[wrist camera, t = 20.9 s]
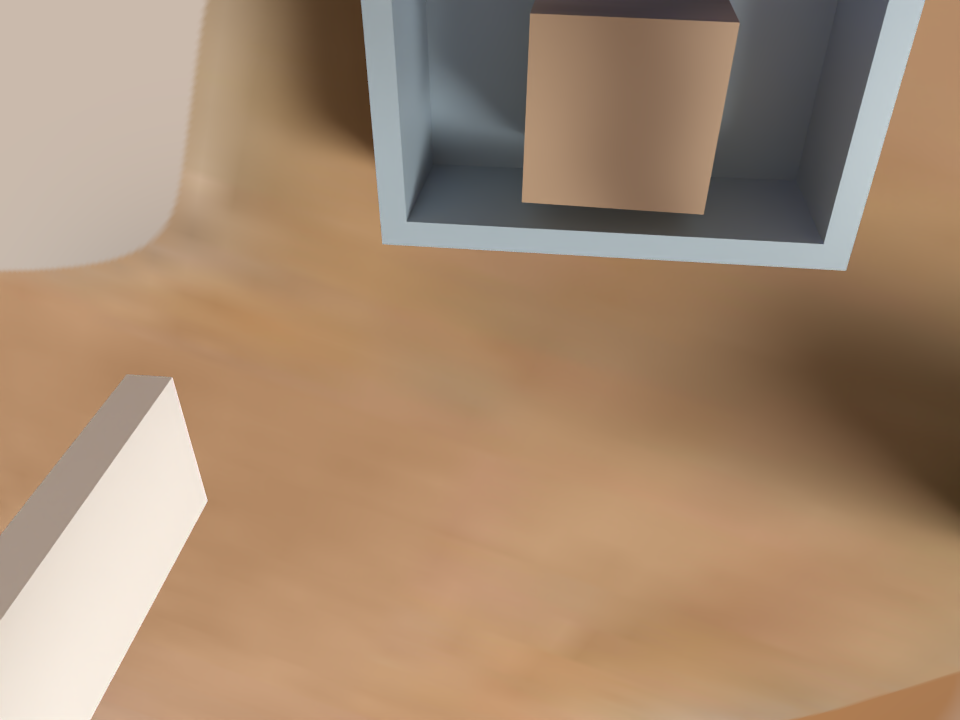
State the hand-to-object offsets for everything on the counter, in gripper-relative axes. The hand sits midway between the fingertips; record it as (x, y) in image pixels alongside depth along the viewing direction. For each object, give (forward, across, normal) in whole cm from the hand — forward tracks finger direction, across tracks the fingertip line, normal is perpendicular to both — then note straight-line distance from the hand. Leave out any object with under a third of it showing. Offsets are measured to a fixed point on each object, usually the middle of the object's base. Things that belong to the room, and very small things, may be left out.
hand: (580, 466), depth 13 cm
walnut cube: (+16, +1, +2) cm, 17 cm away
